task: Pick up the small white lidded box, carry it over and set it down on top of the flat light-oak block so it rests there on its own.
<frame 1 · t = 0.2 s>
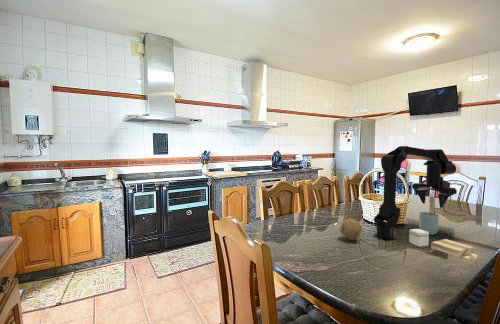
hand: (432, 205, 121), 14 cm above the table, fingers open, 9 cm apart
natural sponge: (350, 240, 113), on the table
cup: (428, 233, 122), on the table
white lidded box: (418, 244, 108), on the table
oak block: (451, 251, 101), on the table
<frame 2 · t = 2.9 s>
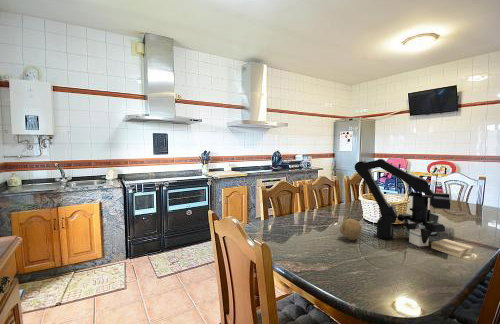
hand: (418, 241, 108), 1 cm above the table, fingers closed on white lidded box, 5 cm apart
white lidded box: (418, 243, 108), on the table, touching gripper
everything else where it was.
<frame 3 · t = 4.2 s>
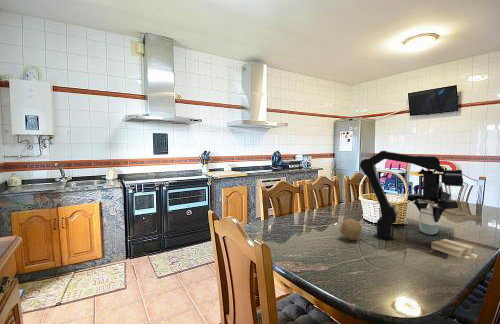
hand: (430, 220, 105), 11 cm above the table, fingers closed on white lidded box, 5 cm apart
white lidded box: (430, 223, 105), point 10 cm above the table, touching gripper
everything else where it was.
when the fingers open (5 cm above the table, at t = 5.9 s): white lidded box drops 1 cm, resting on oak block.
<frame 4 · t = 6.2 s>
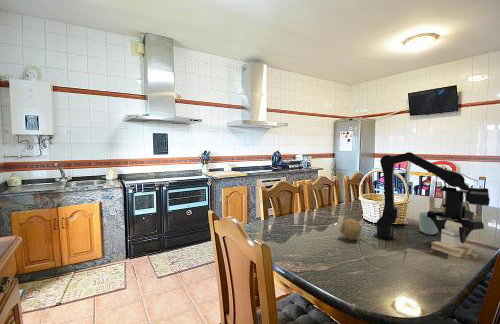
hand: (452, 239, 101), 5 cm above the table, fingers open, 8 cm apart
white lidded box: (451, 244, 101), point 2 cm above the table, touching oak block
oak block: (451, 251, 101), on the table, touching white lidded box
everything else where it was.
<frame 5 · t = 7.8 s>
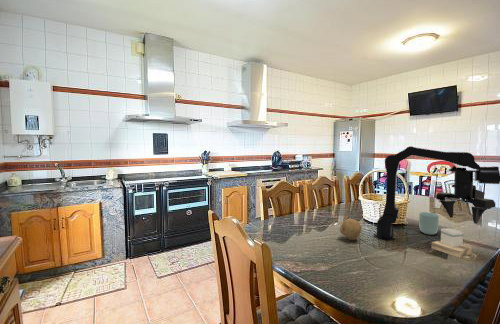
hand: (462, 220, 99), 13 cm above the table, fingers open, 9 cm apart
white lidded box: (451, 244, 101), point 2 cm above the table
oak block: (451, 251, 101), on the table
everything else where it was.
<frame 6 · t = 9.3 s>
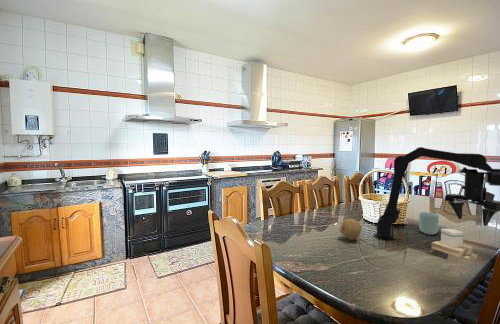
hand: (472, 222, 99), 12 cm above the table, fingers open, 9 cm apart
nothing on the table moved.
at the end: white lidded box inside the target area on the oak block (0.2 cm from its centre), point 3.0 cm above the oak block's base; white lidded box tilted 1°; the gripper is holding nothing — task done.
